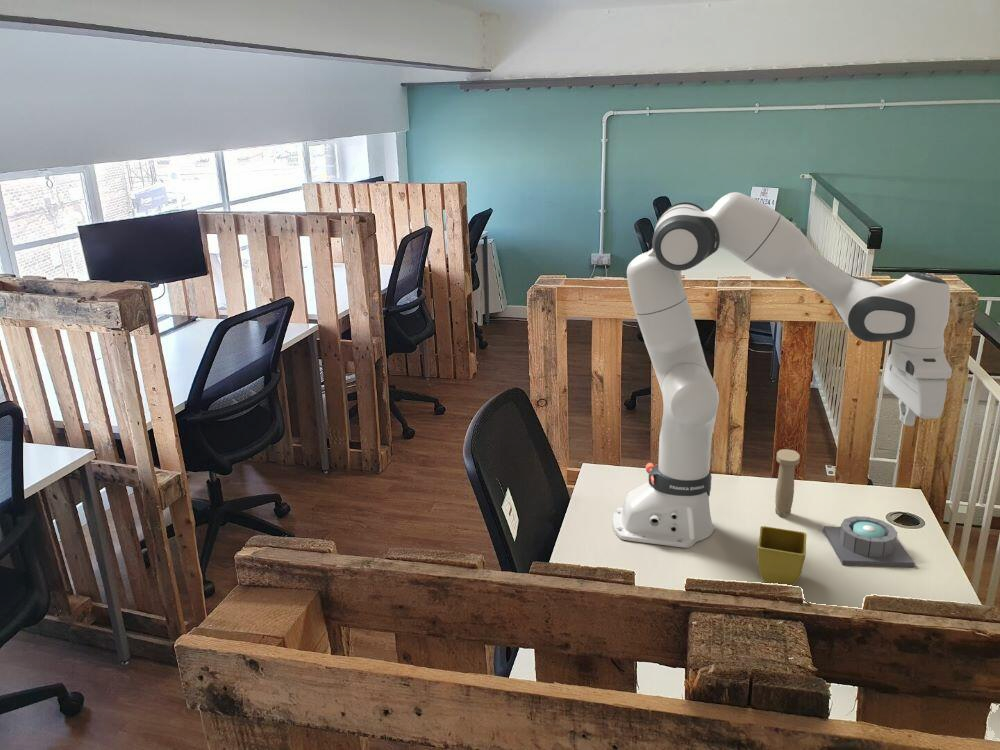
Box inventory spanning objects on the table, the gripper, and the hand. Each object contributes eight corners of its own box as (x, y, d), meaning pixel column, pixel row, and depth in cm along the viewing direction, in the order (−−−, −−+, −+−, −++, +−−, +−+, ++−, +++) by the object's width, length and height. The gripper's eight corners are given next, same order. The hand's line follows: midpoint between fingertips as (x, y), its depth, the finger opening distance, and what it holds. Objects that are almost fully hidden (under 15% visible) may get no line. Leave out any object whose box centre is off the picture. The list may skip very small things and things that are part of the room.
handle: (771, 519, 177) (776, 459, 172) (772, 506, 183) (777, 448, 178) (793, 522, 175) (799, 462, 171) (793, 509, 181) (799, 450, 176)
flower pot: (801, 595, 149) (805, 554, 146) (754, 587, 152) (757, 547, 149) (802, 571, 157) (806, 532, 154) (757, 563, 160) (760, 525, 157)
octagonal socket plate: (842, 564, 158) (844, 545, 157) (822, 530, 172) (824, 511, 170) (914, 566, 157) (917, 547, 155) (888, 531, 170) (891, 513, 169)
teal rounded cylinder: (856, 550, 161) (859, 535, 160) (847, 536, 167) (849, 520, 166) (887, 551, 161) (889, 535, 159) (876, 536, 166) (879, 521, 165)
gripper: (879, 342, 159) (871, 404, 164) (919, 373, 140) (909, 443, 144) (912, 342, 159) (903, 404, 163) (956, 373, 139) (945, 443, 144)
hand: (906, 423), depth 154 cm, fingers closed
